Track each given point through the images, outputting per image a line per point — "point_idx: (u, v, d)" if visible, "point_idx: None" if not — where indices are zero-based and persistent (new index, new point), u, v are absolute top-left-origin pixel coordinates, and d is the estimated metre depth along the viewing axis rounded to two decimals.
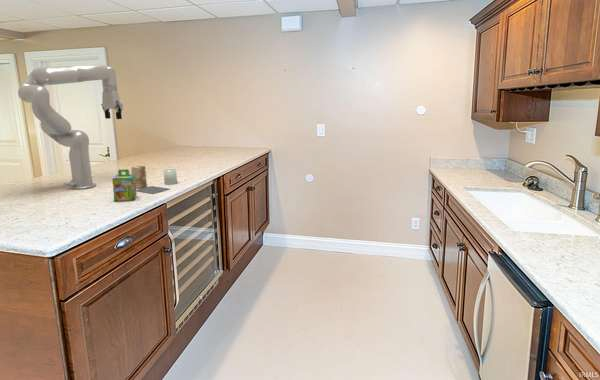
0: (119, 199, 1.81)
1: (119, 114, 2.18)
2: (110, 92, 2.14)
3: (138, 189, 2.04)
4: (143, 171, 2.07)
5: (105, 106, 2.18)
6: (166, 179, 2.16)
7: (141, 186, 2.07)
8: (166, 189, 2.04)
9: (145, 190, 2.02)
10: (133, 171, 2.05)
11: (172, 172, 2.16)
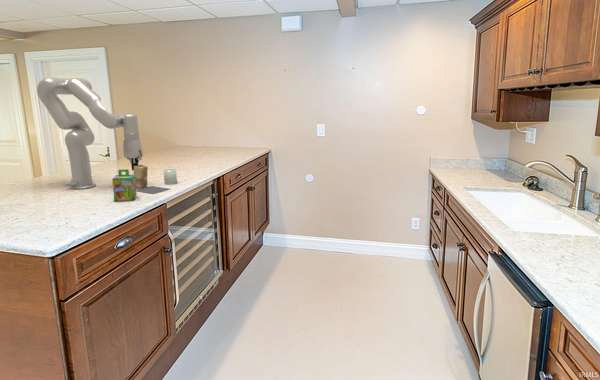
0: (119, 199, 1.81)
1: (136, 165, 2.07)
2: (132, 141, 2.01)
3: (138, 189, 2.04)
4: (145, 172, 2.06)
5: (127, 155, 2.04)
6: (166, 179, 2.16)
7: (141, 186, 2.07)
8: (166, 189, 2.04)
9: (145, 190, 2.02)
10: (135, 170, 2.04)
11: (172, 172, 2.16)
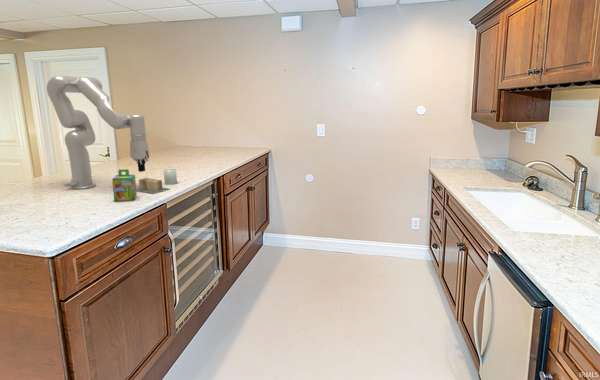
0: (119, 199, 1.81)
1: (143, 166, 2.04)
2: (139, 142, 1.98)
3: (138, 189, 2.04)
4: None
5: (133, 156, 2.02)
6: (166, 179, 2.16)
7: None
8: (166, 189, 2.04)
9: (145, 190, 2.02)
10: (151, 183, 2.01)
11: (172, 172, 2.16)
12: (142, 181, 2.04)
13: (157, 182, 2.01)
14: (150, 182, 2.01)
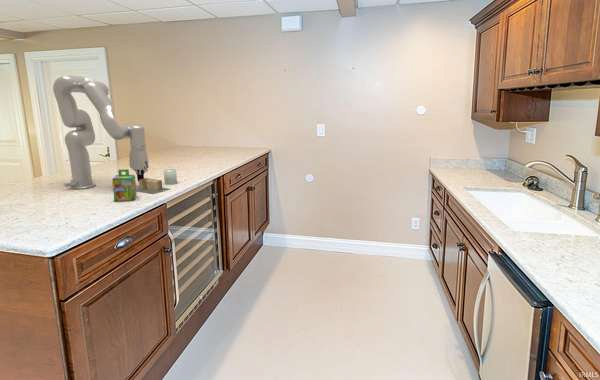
0: (119, 199, 1.81)
1: (142, 176, 2.06)
2: (139, 153, 2.00)
3: (138, 189, 2.04)
4: None
5: (133, 166, 2.04)
6: (166, 179, 2.16)
7: None
8: (166, 189, 2.04)
9: (145, 190, 2.02)
10: (151, 183, 2.01)
11: (172, 172, 2.16)
12: (142, 181, 2.04)
13: (157, 182, 2.01)
14: (150, 182, 2.01)
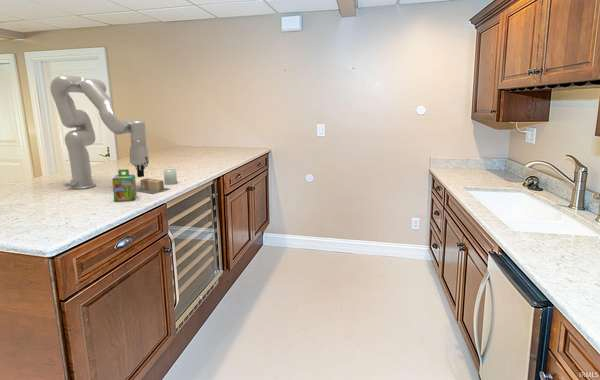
0: (119, 199, 1.81)
1: (142, 172, 2.05)
2: (139, 148, 1.99)
3: (138, 189, 2.04)
4: None
5: (133, 161, 2.03)
6: (166, 179, 2.16)
7: None
8: (166, 189, 2.04)
9: (145, 190, 2.02)
10: (153, 184, 2.00)
11: (172, 172, 2.16)
12: (144, 181, 2.03)
13: (158, 182, 2.01)
14: (151, 182, 2.00)
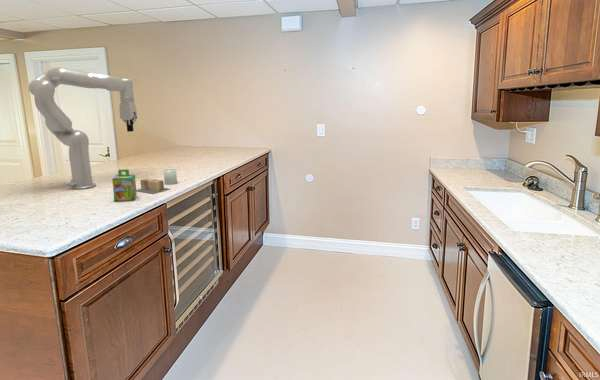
0: (119, 199, 1.81)
1: (131, 127, 2.25)
2: (127, 103, 2.19)
3: (138, 189, 2.04)
4: None
5: (122, 117, 2.22)
6: (166, 179, 2.16)
7: None
8: (166, 189, 2.04)
9: (145, 190, 2.02)
10: (153, 184, 2.00)
11: (172, 172, 2.16)
12: (144, 181, 2.03)
13: (158, 182, 2.01)
14: (151, 182, 2.00)
